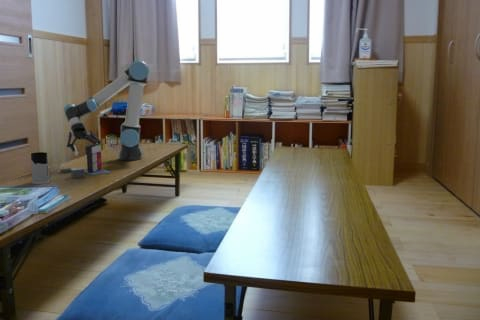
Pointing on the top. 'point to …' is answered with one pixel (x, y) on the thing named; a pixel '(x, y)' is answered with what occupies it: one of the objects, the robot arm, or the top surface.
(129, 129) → the robot arm
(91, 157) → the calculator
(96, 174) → the rubber mat
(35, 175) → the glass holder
